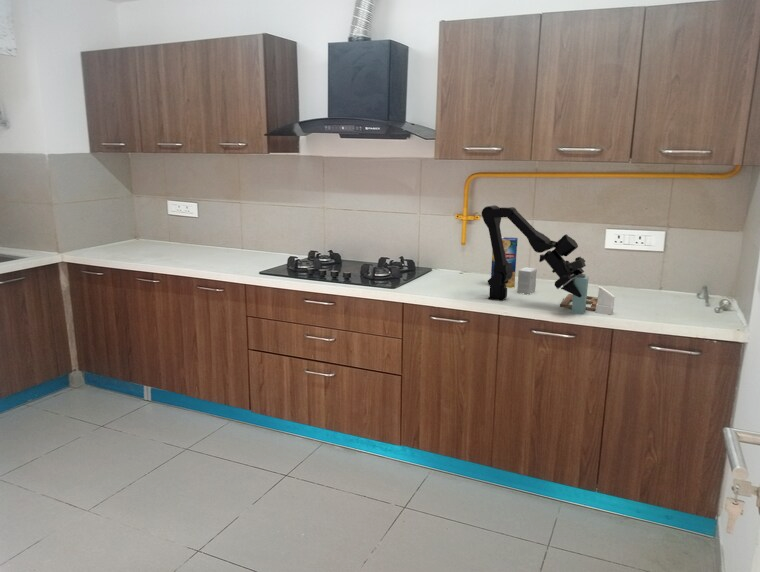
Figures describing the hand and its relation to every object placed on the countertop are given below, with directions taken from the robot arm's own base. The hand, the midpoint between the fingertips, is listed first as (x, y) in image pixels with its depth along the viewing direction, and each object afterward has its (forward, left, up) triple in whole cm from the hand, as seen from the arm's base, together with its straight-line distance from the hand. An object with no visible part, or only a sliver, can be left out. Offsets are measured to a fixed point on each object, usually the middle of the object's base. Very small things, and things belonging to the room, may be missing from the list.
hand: (583, 295), depth 223 cm
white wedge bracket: (+8, +4, -7) cm, 11 cm away
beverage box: (-40, +30, -7) cm, 51 cm away
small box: (-27, +22, -7) cm, 36 cm away
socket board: (-2, +14, -7) cm, 16 cm away
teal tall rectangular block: (-1, 0, -7) cm, 7 cm away
